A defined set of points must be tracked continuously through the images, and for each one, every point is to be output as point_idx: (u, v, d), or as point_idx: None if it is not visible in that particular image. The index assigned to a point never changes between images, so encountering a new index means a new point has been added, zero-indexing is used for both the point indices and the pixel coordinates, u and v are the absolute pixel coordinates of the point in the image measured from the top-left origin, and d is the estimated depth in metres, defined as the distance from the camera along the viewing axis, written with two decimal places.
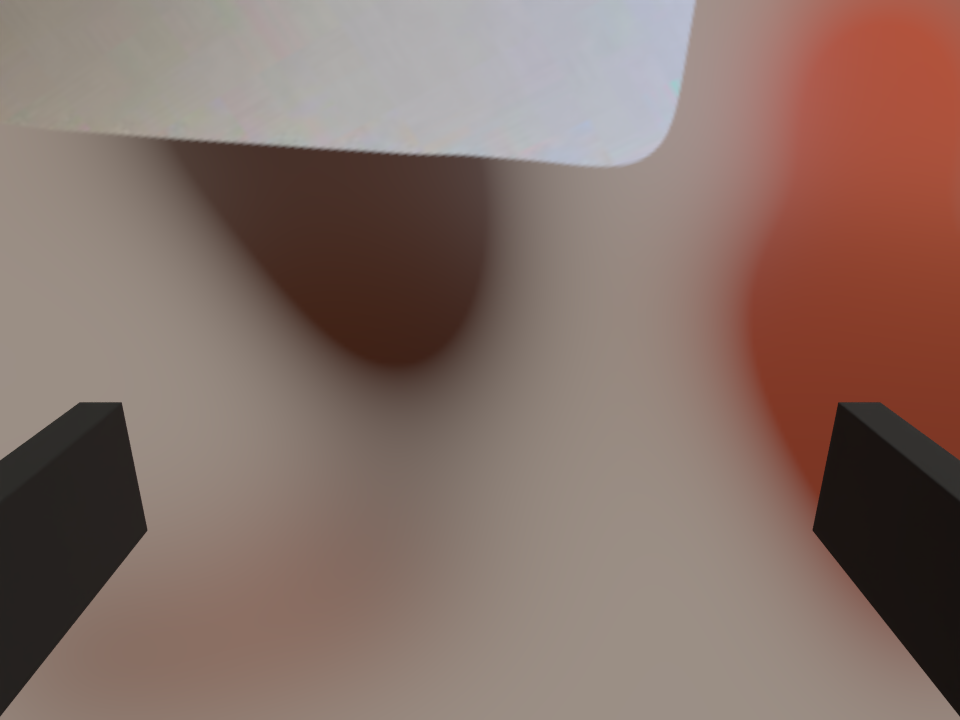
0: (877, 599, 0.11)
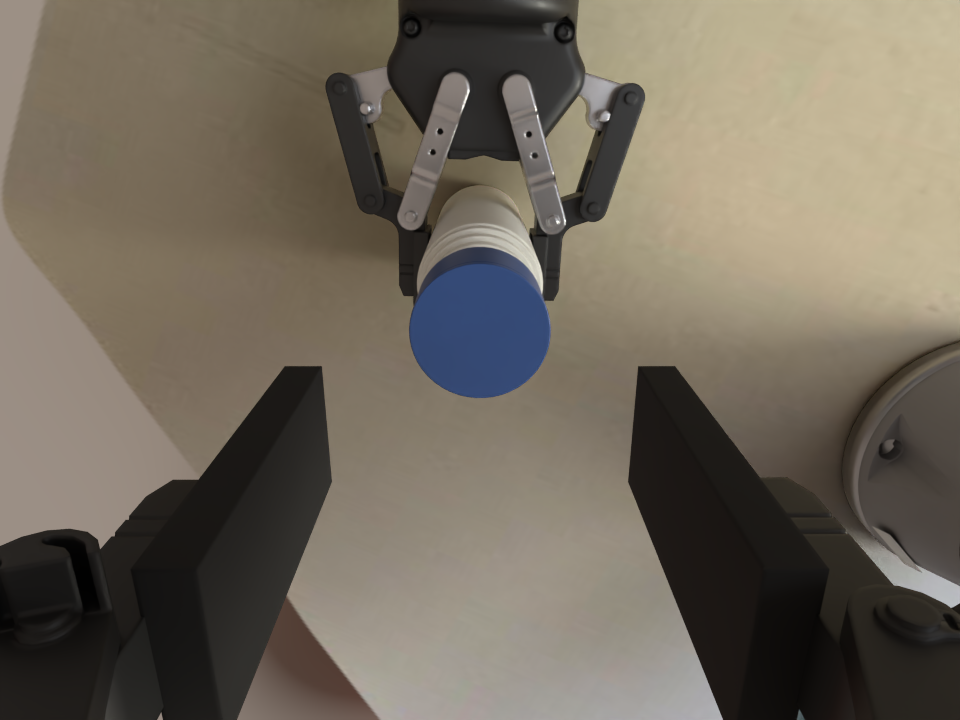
0: (653, 533, 0.13)
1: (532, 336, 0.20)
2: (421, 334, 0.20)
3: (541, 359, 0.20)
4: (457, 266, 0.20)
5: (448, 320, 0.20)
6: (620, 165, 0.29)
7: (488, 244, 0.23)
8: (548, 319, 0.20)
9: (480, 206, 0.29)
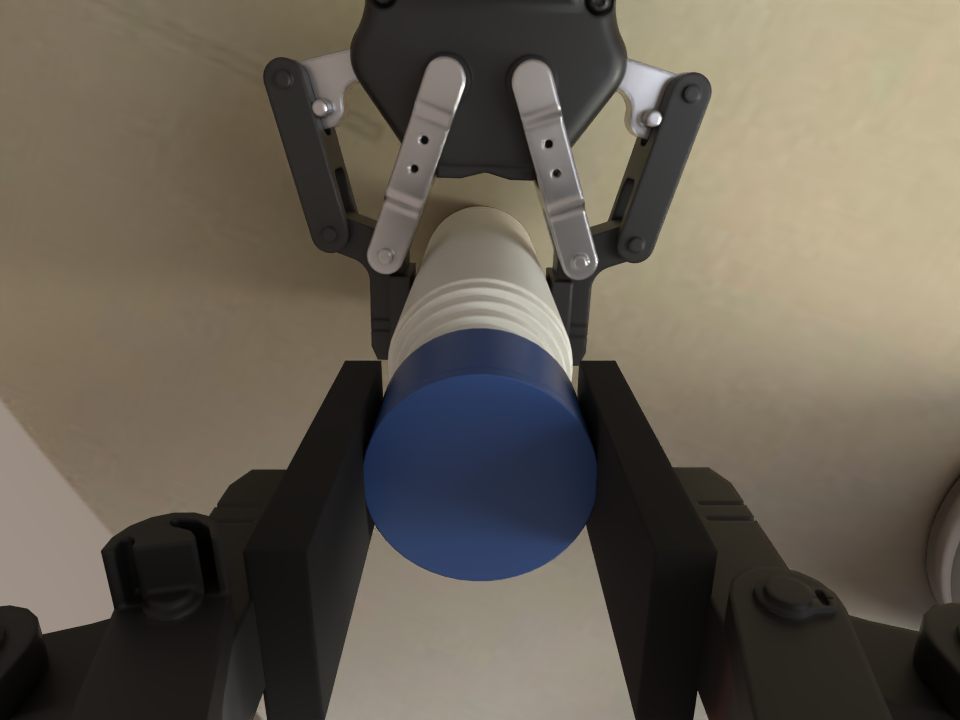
0: (587, 523, 0.13)
1: (568, 488, 0.12)
2: (382, 486, 0.12)
3: (582, 523, 0.12)
4: (441, 377, 0.11)
5: (427, 464, 0.12)
6: (674, 186, 0.21)
7: (493, 316, 0.15)
8: (595, 462, 0.12)
9: (480, 244, 0.21)
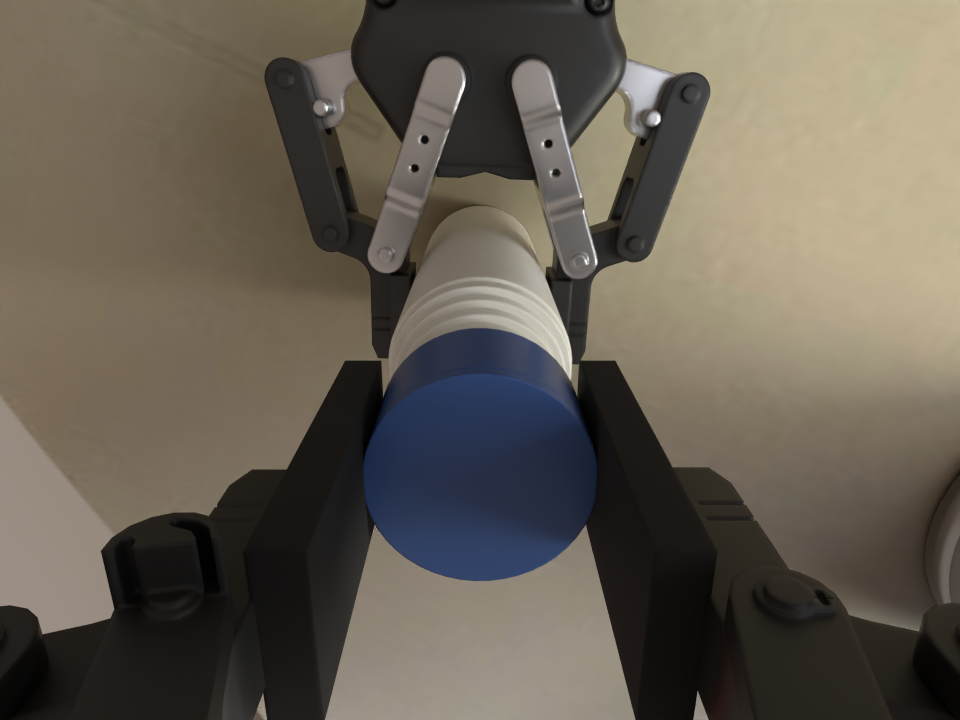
0: (587, 523, 0.13)
1: (428, 417, 0.12)
2: (539, 548, 0.12)
3: (450, 379, 0.11)
4: (417, 562, 0.13)
5: (494, 530, 0.12)
6: (673, 186, 0.21)
7: (493, 314, 0.15)
8: (386, 416, 0.12)
9: (480, 243, 0.21)
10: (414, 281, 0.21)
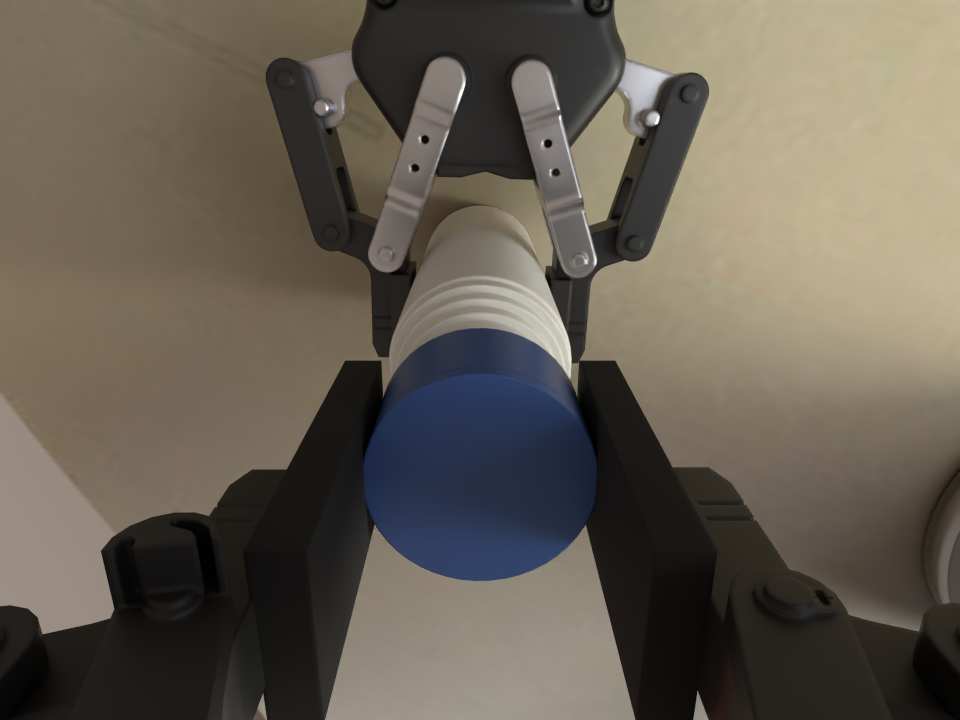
0: (588, 523, 0.13)
1: (455, 554, 0.13)
2: (502, 396, 0.11)
3: (413, 558, 0.13)
4: None
5: (515, 443, 0.12)
6: (672, 185, 0.21)
7: (493, 313, 0.15)
8: (477, 580, 0.13)
9: (480, 242, 0.21)
10: (414, 280, 0.21)
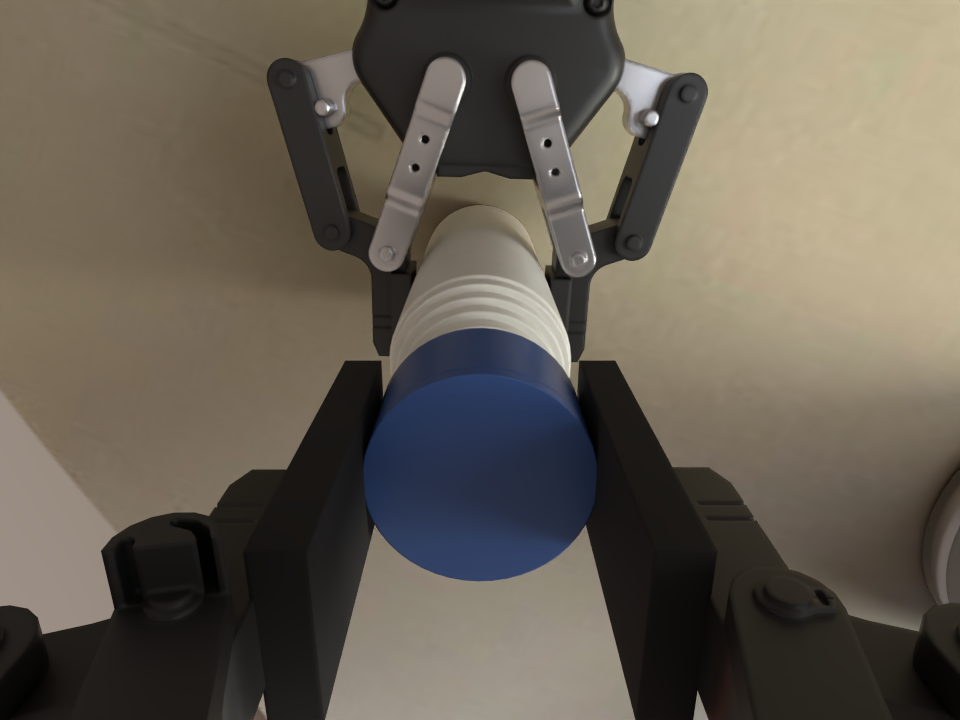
0: (587, 523, 0.13)
1: (564, 455, 0.12)
2: (393, 521, 0.12)
3: (595, 482, 0.12)
4: (396, 402, 0.12)
5: (423, 485, 0.12)
6: (671, 185, 0.22)
7: (493, 311, 0.16)
8: (576, 420, 0.12)
9: (480, 242, 0.21)
10: (415, 279, 0.22)
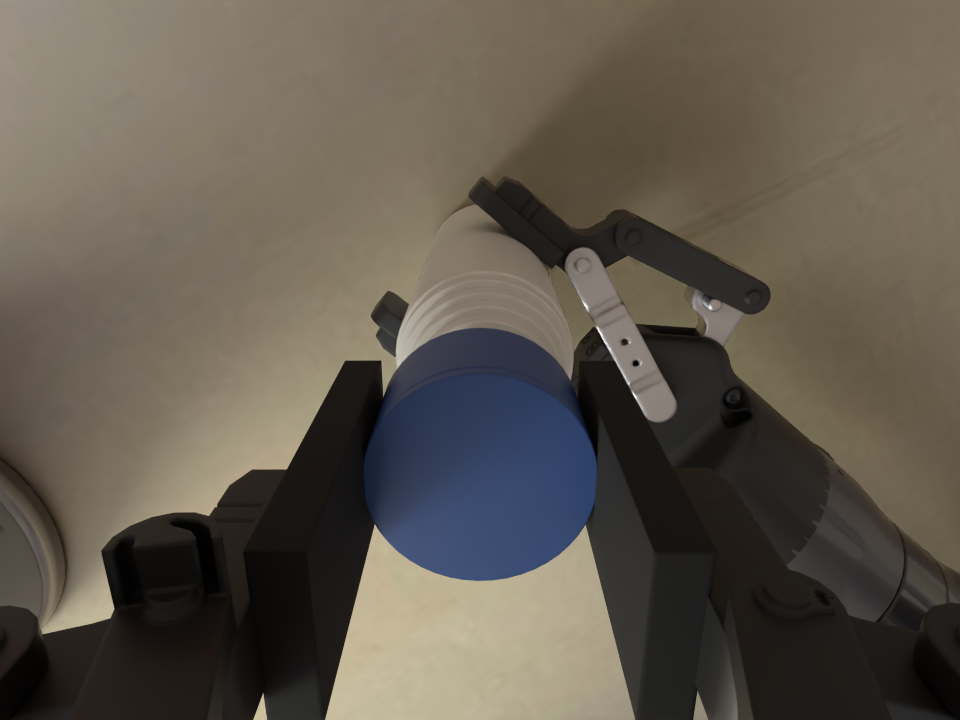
0: (588, 523, 0.13)
1: (564, 455, 0.12)
2: (393, 520, 0.12)
3: (595, 482, 0.12)
4: (396, 402, 0.12)
5: (423, 485, 0.12)
6: None
7: None
8: (577, 420, 0.12)
9: None
10: None
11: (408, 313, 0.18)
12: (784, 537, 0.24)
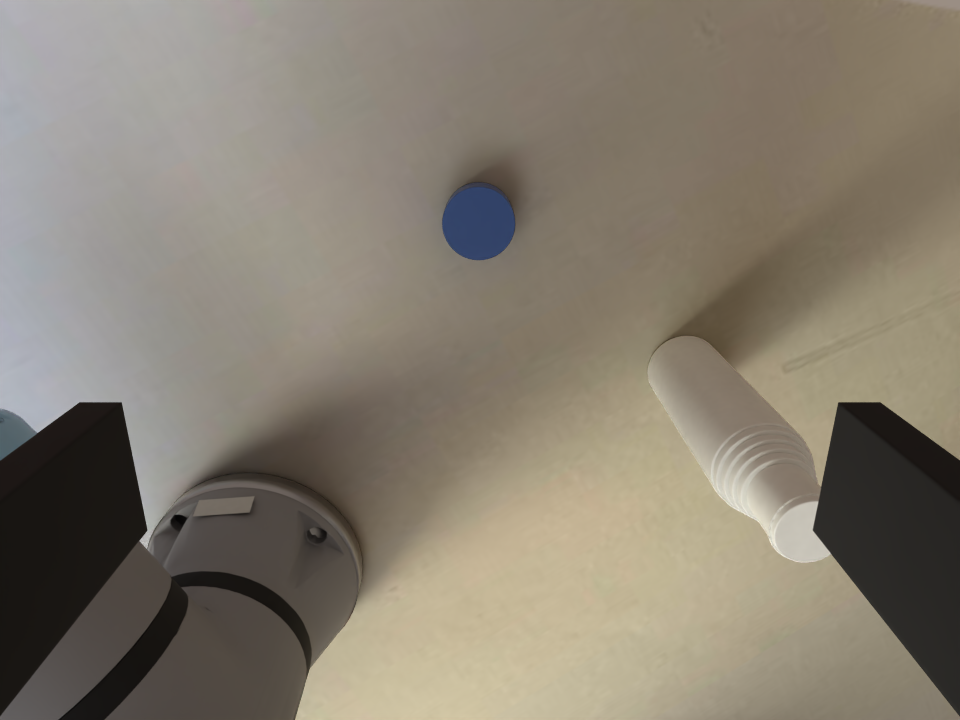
0: (877, 599, 0.11)
1: (504, 214, 0.39)
2: (451, 237, 0.39)
3: (514, 223, 0.39)
4: (453, 196, 0.39)
5: (461, 224, 0.39)
6: None
7: None
8: (507, 202, 0.39)
9: None
10: None
11: (721, 444, 0.32)
12: None
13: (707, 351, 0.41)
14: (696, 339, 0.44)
